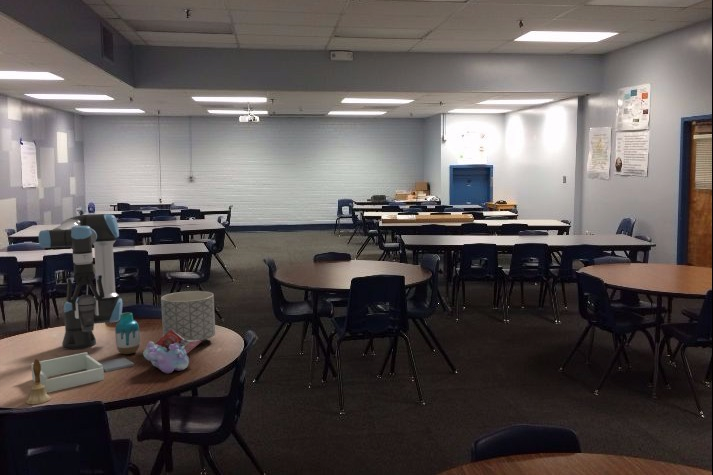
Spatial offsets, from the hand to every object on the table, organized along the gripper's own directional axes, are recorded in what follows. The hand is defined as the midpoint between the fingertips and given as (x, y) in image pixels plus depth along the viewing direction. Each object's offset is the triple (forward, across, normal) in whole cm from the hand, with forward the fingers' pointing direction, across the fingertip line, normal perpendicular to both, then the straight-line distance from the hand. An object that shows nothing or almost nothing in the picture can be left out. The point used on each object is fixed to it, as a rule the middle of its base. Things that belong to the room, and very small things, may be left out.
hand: (87, 316), depth 253 cm
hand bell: (+24, -24, -20) cm, 40 cm away
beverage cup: (+6, 0, 0) cm, 6 cm away
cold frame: (+24, -10, -3) cm, 27 cm away
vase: (+25, +22, +17) cm, 37 cm away
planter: (+25, +51, +13) cm, 58 cm away
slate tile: (+25, +11, +2) cm, 27 cm away
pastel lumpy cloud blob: (+25, +28, -17) cm, 42 cm away
